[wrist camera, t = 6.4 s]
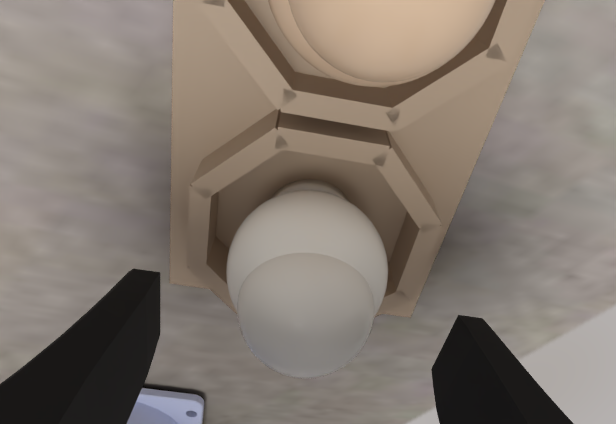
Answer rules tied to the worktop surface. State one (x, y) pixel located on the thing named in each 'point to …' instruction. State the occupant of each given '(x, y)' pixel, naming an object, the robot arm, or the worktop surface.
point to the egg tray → (324, 137)
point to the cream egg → (306, 279)
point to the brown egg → (379, 35)
